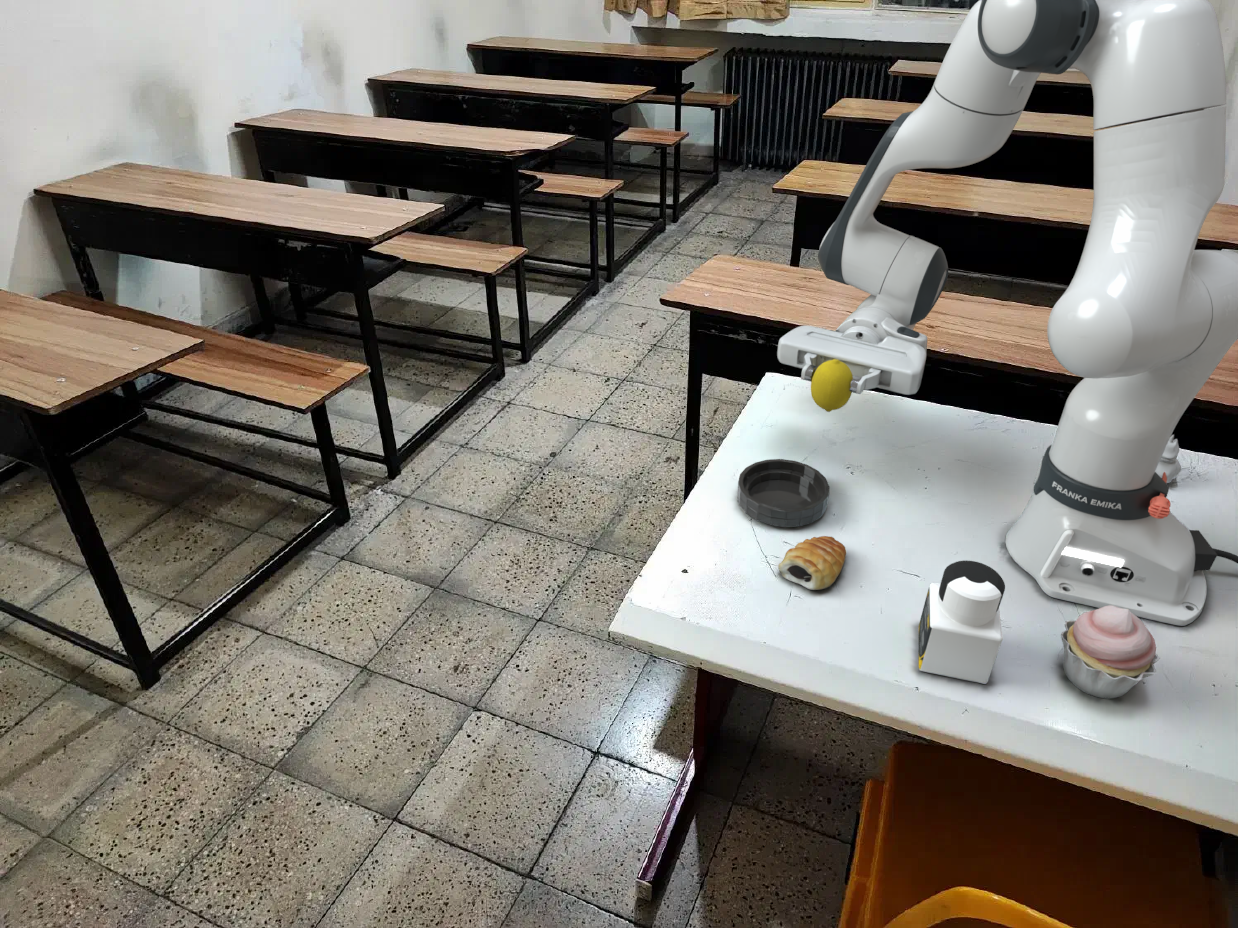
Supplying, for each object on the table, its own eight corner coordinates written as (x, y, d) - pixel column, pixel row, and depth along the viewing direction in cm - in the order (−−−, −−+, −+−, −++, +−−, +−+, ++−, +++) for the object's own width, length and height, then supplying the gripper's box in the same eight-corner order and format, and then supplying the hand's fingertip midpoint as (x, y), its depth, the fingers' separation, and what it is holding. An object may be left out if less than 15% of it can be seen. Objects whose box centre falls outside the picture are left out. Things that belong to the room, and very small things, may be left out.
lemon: (849, 423, 110) (857, 370, 106) (807, 419, 111) (814, 367, 107) (848, 403, 115) (856, 351, 110) (808, 399, 116) (814, 348, 111)
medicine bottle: (917, 626, 95) (938, 547, 89) (983, 638, 94) (1009, 559, 87) (917, 671, 90) (940, 591, 83) (987, 685, 88) (1016, 604, 81)
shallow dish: (839, 493, 117) (842, 475, 115) (806, 540, 108) (809, 522, 107) (759, 467, 123) (761, 450, 121) (722, 511, 114) (723, 492, 112)
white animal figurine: (1135, 487, 117) (1155, 440, 112) (1127, 462, 122) (1145, 416, 118) (1178, 493, 116) (1200, 446, 111) (1167, 467, 121) (1188, 421, 116)
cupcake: (1164, 704, 85) (1201, 637, 80) (1082, 717, 84) (1113, 649, 79) (1107, 639, 93) (1137, 574, 87) (1031, 649, 92) (1056, 584, 86)
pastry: (812, 539, 109) (815, 516, 106) (858, 561, 105) (863, 538, 103) (773, 575, 103) (776, 552, 101) (821, 600, 99) (825, 576, 97)
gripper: (800, 308, 122) (761, 343, 113) (939, 338, 113) (910, 379, 103) (795, 346, 126) (757, 383, 116) (930, 378, 116) (901, 422, 107)
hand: (830, 382), depth 110 cm, fingers closed on lemon, 5 cm apart
